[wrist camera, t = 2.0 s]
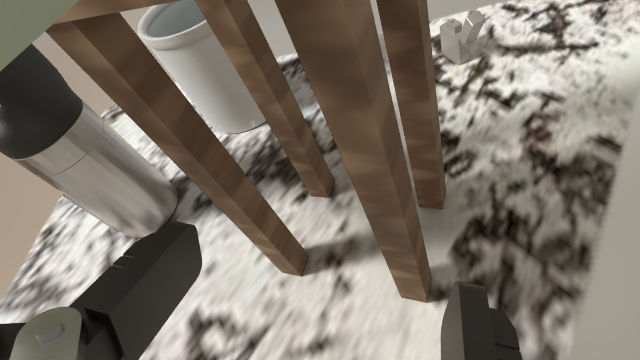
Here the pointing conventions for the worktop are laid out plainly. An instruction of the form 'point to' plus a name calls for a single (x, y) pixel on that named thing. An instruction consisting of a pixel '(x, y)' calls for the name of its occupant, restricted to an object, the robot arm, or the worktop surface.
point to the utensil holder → (200, 65)
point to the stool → (292, 113)
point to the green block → (26, 23)
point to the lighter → (460, 37)
